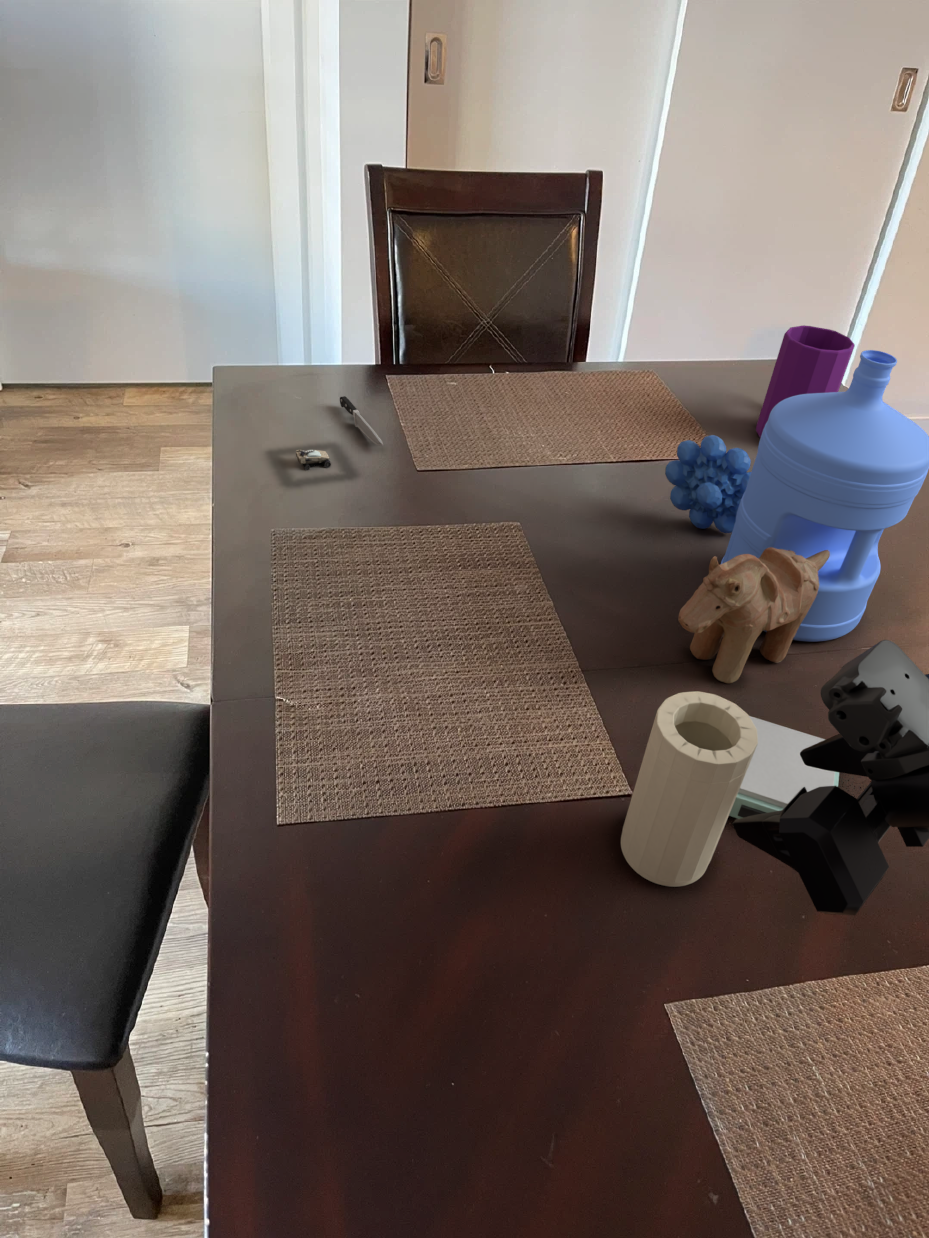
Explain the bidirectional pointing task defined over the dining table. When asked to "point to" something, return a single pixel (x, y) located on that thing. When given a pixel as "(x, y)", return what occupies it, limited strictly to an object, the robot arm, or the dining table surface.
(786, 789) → the scale
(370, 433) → the knife
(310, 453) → the toy car
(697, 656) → the figurine
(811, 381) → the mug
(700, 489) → the blue knobby flower
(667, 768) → the jar
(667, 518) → the dining table surface
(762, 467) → the water jug
